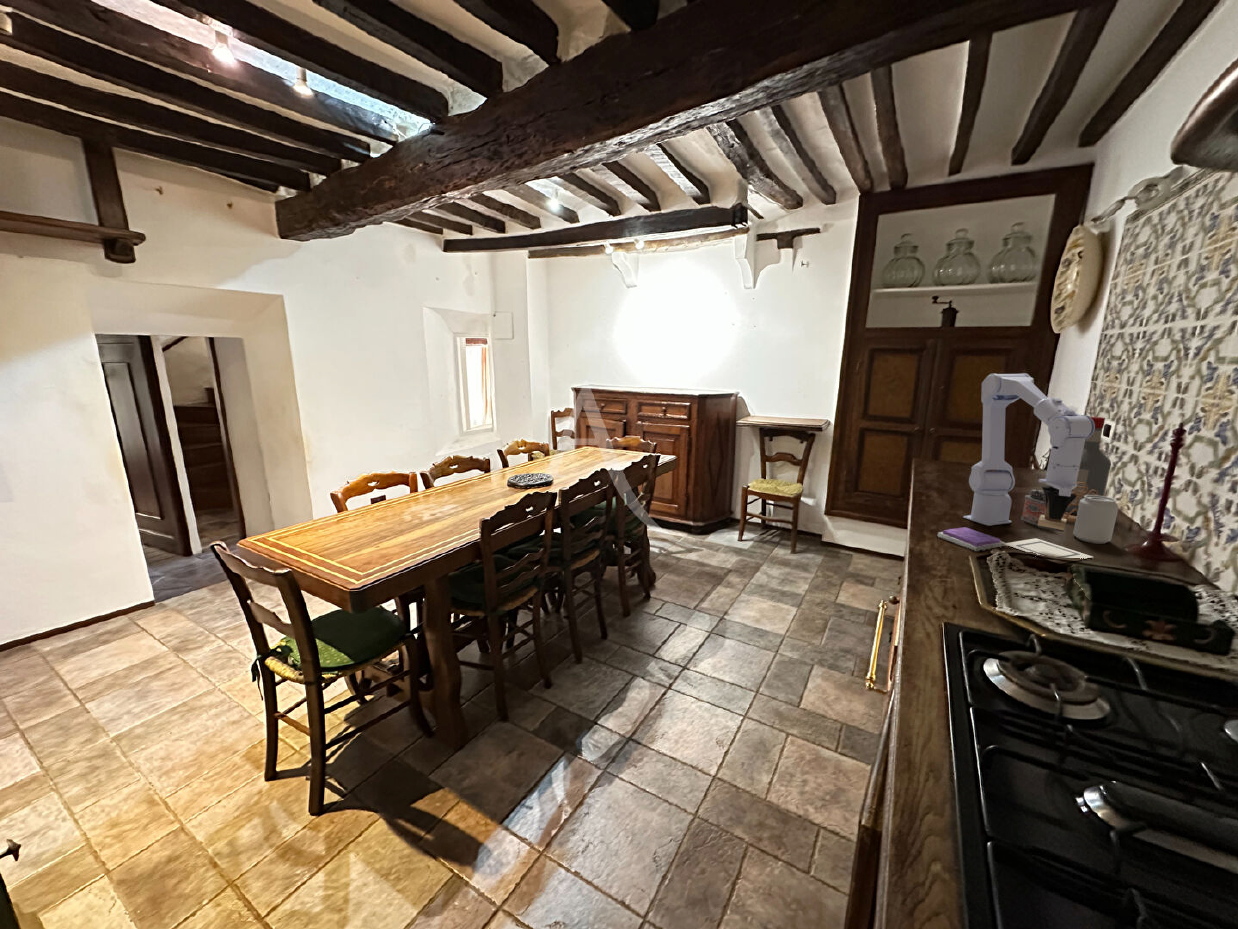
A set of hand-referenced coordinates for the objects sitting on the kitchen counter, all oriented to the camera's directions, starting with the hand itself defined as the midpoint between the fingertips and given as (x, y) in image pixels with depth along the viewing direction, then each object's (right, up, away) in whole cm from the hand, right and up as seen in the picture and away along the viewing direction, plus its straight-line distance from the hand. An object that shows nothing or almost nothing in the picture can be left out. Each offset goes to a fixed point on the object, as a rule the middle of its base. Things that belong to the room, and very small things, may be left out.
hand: (1053, 516), depth 121 cm
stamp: (0, -3, +1) cm, 3 cm away
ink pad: (-14, -8, +9) cm, 19 cm away
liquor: (+38, -2, +33) cm, 50 cm away
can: (+19, -7, +9) cm, 22 cm away
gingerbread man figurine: (+28, -4, +24) cm, 37 cm away
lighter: (+15, -5, +23) cm, 27 cm away
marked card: (0, -9, +2) cm, 9 cm away
